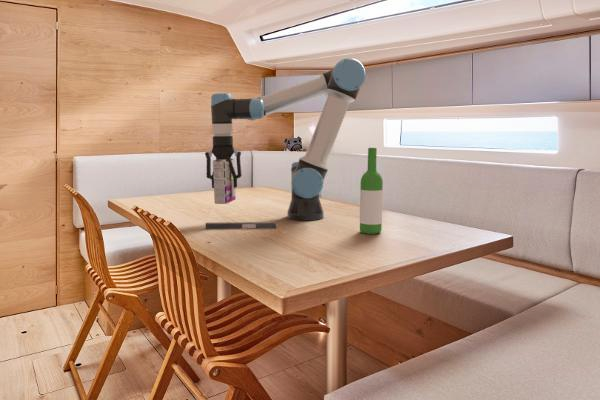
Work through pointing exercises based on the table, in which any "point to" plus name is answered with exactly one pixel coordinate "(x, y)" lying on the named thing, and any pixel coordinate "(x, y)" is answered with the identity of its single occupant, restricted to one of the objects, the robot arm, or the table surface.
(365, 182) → the wine bottle
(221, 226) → the price rail
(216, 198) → the candy bar box
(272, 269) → the table surface
